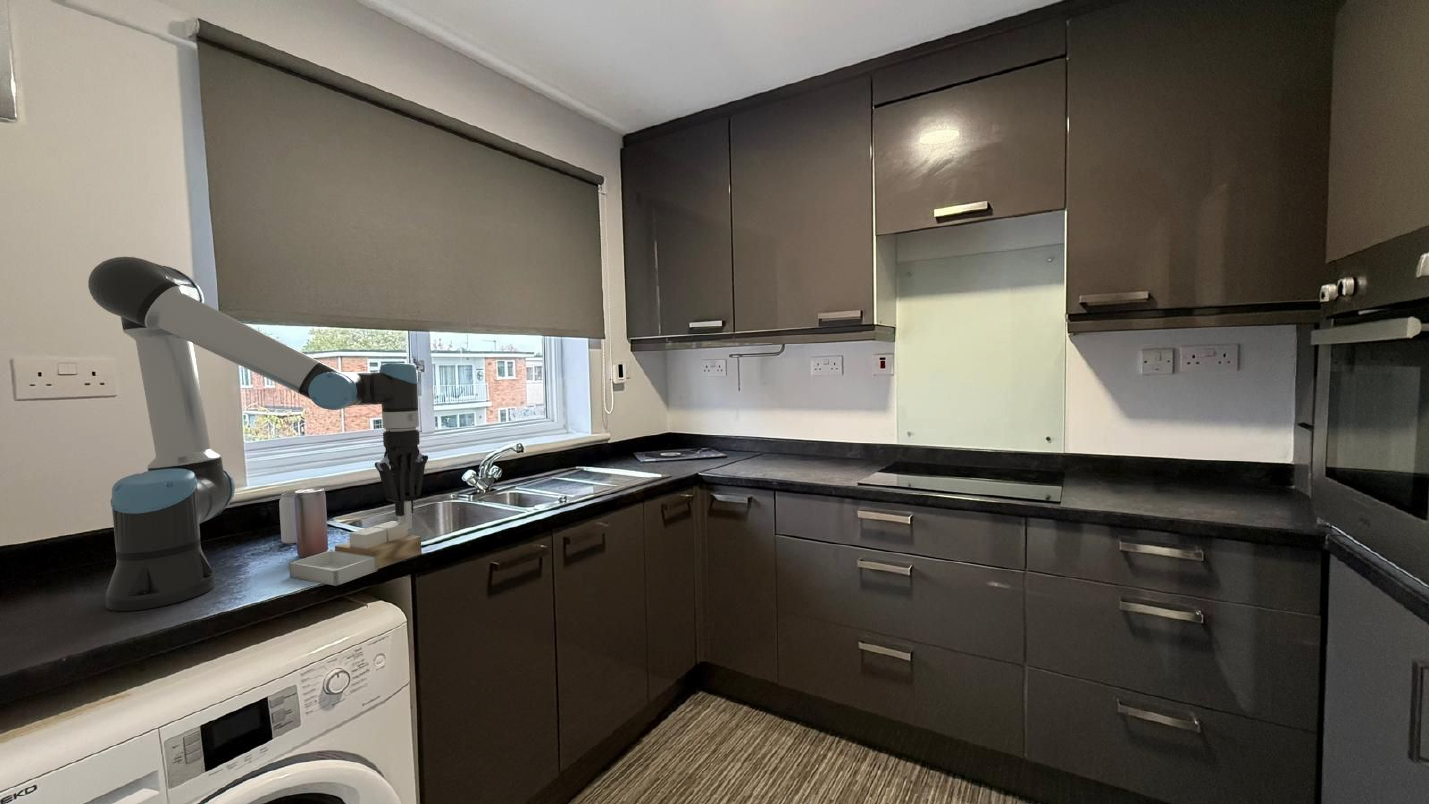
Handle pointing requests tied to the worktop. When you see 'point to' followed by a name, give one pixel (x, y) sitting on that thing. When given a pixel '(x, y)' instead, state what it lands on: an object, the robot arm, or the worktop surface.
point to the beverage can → (311, 522)
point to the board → (388, 550)
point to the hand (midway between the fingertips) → (405, 528)
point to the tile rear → (394, 529)
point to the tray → (333, 567)
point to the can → (287, 518)
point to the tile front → (368, 537)
